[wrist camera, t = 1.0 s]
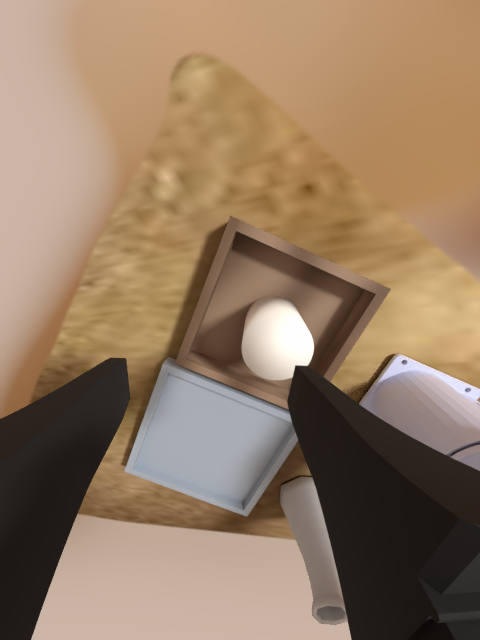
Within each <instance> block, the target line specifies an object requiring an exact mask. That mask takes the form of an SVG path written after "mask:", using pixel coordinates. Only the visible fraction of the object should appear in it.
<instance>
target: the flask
mask: <svg viewBox="0 0 480 640" xmlns="http://www.w3.org/2000/svg"><path fill="white" fill-rule="evenodd" d="M280 504H281V507H282V509H283V511H284V514H285V516H286V518H287V520H288V523H289V525H290V527H291V529H292V532H293V534H294V536H295V539H296V541H297V544H298V546H299V548H300V551H301V554H302V556H303V559H304V561H305V565H306V569H307V572H308V575H309V579H310V583H311V588H312V594H313V605H312V616H313V617H314V618H315V619H316V620H317V621H318V622H319V623H321V624H331V625H337V624H340V623H344V622H348V619H347V615H346V610H345V605H344V600H343V596H342V591H341V586H340V582H339V578H338V573H337V569H336V565H335V561H334V556H333V552H332V548H331V544H330V540H329V536H328V532H327V528H326V524H325V520H324V516H323V512H322V509H321V505H320V502H319V498H318V494H317V491H316V487H315V484H314V481H313V478H312V477H299V478H297V479H294V480H292V481H290V482H288V483H286V484H284V485H281V490H280Z"/></svg>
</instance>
